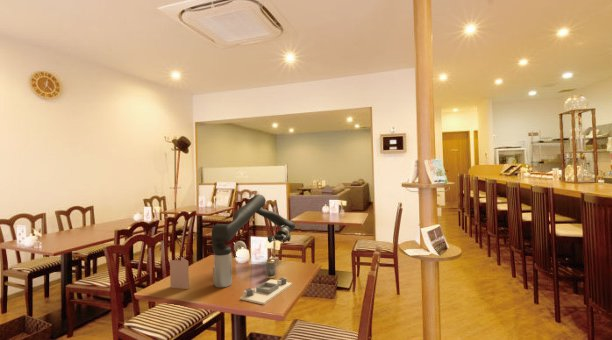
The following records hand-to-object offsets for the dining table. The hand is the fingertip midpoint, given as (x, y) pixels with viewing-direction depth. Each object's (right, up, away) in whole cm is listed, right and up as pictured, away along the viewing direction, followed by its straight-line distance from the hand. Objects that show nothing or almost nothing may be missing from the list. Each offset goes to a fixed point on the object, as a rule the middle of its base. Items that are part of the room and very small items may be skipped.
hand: (276, 241), depth 185 cm
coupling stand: (-2, -19, -31) cm, 36 cm away
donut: (-31, -19, +39) cm, 53 cm away
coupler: (-2, -18, -10) cm, 21 cm away
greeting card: (-50, -20, -22) cm, 58 cm away
